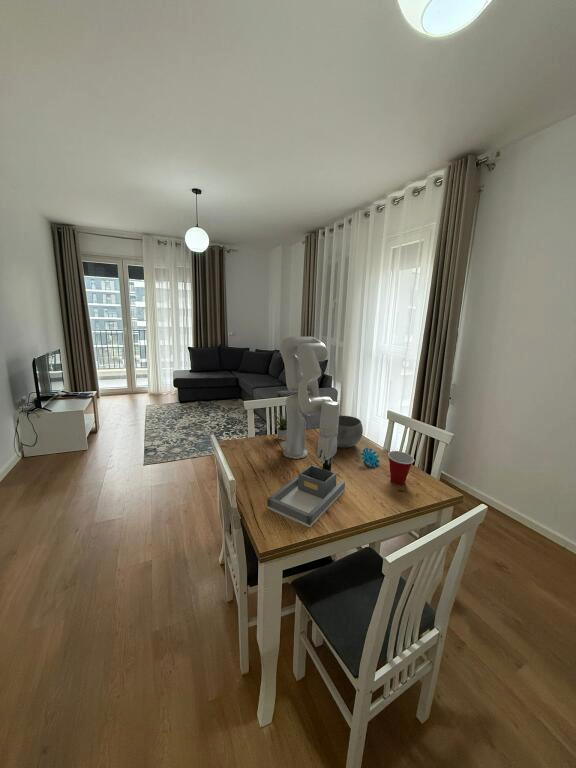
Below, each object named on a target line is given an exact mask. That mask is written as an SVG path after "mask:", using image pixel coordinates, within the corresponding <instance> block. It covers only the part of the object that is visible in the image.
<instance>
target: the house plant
mask: <svg viewBox="0 0 576 768" xmlns="http://www.w3.org/2000/svg"><path fill="white" fill-rule="evenodd" d="M271 413H273V414H274V415H276V416H272V418H274V419H275V421H274V423H273V424H275V427H277V428H276V429H277V436H278V437H279V438H282V439H286V438H287V414H286V413H285V412H284V414H283V416H282V415H281V413H280V412H278V415H279V416H278V415H277V413H274V412H271ZM285 414H286V415H285ZM279 438H278V439H279Z"/></svg>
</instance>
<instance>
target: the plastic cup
mask: <svg viewBox="0 0 576 768" xmlns="http://www.w3.org/2000/svg"><path fill="white" fill-rule="evenodd" d="M387 456H388V461H389V475H390V482H392V483H393V484H395V485H404V484H405V483H406V481H407V477H408V474H409V472H410V468H411V466H412V464H413V463H414V462H415V459H414V457H413V456H412V455H410V454H409V453H407V452H404V451H399V450H391V451H389V452H387Z"/></svg>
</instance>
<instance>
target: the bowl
mask: <svg viewBox="0 0 576 768" xmlns="http://www.w3.org/2000/svg"><path fill="white" fill-rule="evenodd" d="M363 430H364V429H363V424H362V421H361V420H360V419H359V418H358V417H355V416H351V415H339V424H338V436H337V448H343V449H344V448H351V447H354V446H355V445H357V444H359V442H360V440H361V439H362V437H363V433H364V431H363Z"/></svg>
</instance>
